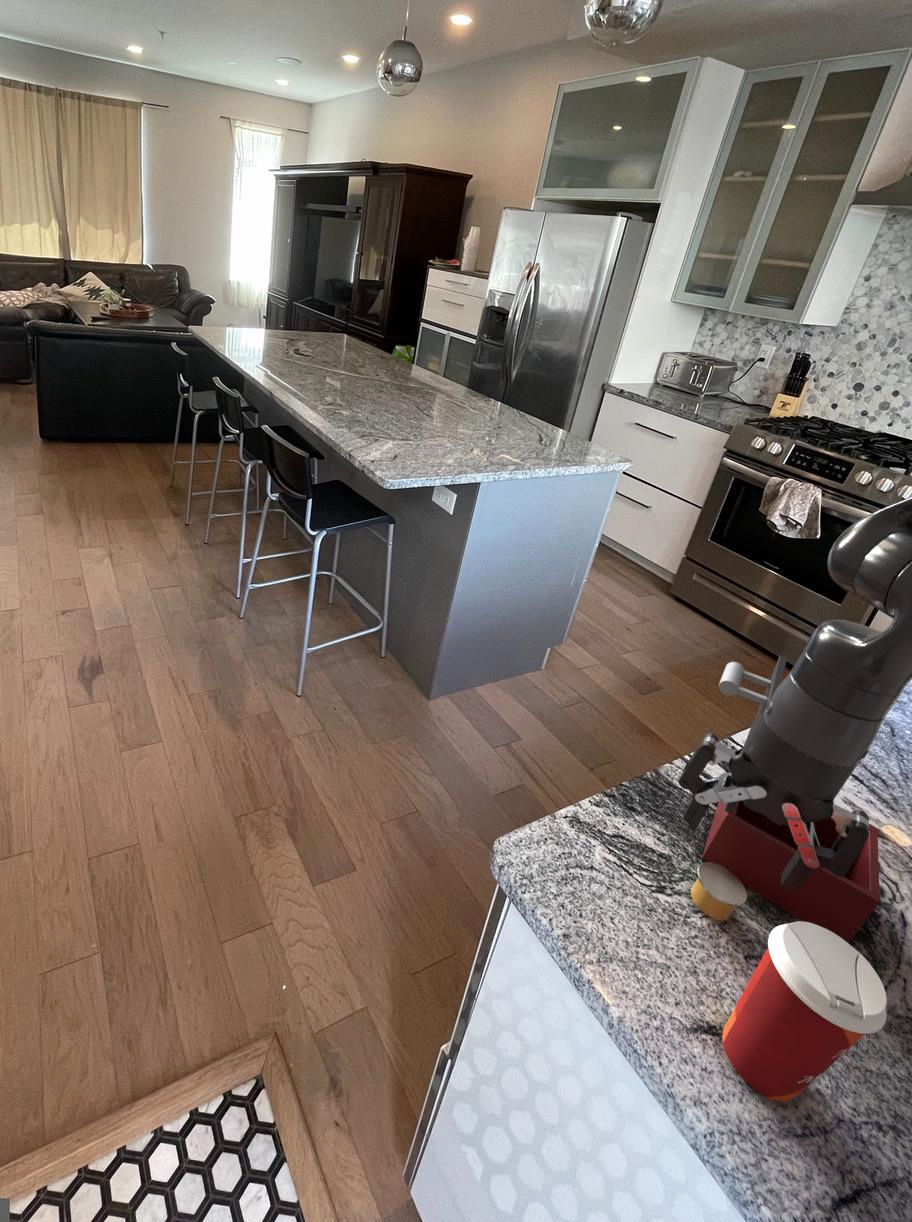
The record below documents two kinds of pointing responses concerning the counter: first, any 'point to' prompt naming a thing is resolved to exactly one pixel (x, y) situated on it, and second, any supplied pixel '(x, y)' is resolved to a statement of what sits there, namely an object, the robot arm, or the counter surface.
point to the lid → (732, 687)
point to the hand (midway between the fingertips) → (736, 852)
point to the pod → (717, 891)
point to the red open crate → (767, 849)
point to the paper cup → (802, 1010)
